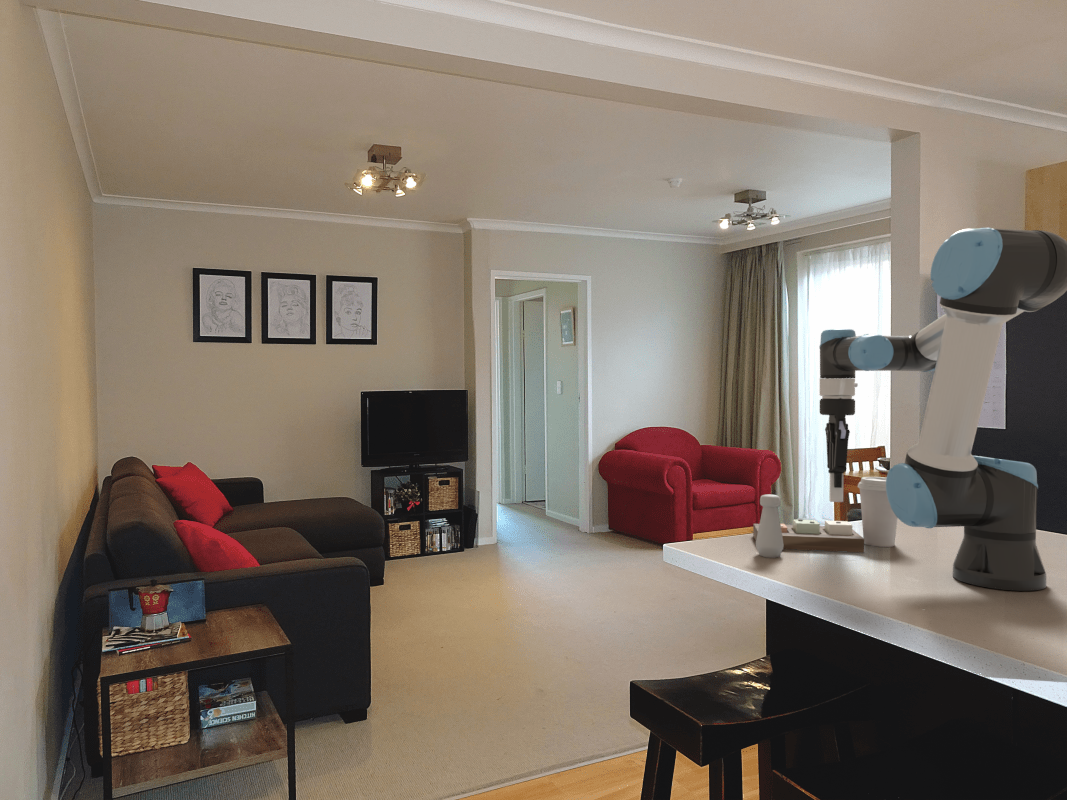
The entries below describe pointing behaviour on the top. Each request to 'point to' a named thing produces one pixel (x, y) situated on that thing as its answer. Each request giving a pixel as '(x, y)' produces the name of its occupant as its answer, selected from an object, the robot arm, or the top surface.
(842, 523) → the cream square block
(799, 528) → the pale green square block
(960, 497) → the robot arm
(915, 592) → the top surface
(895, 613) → the top surface
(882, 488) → the coffee cup
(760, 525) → the salt shaker
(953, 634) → the top surface
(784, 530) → the tile
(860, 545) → the button board
